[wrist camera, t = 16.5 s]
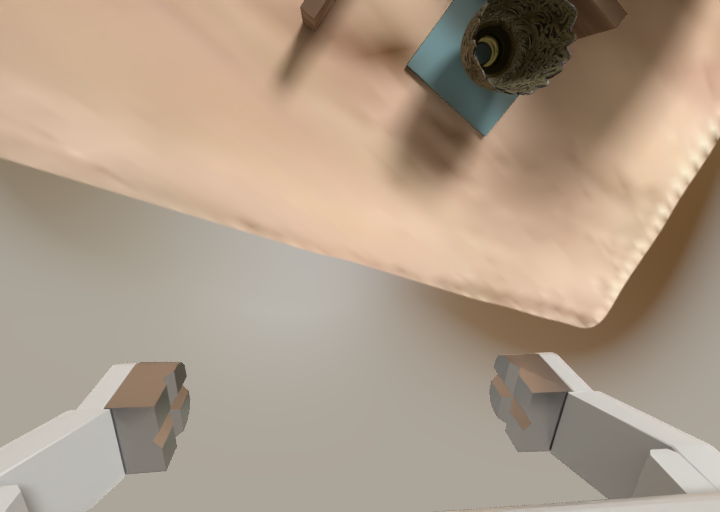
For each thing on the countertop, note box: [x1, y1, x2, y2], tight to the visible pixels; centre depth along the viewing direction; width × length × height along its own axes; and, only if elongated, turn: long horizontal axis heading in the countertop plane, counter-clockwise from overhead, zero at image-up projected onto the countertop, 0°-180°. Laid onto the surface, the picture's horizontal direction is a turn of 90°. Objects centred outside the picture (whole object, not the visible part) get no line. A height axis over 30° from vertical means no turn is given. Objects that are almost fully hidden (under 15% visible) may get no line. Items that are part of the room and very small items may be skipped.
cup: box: [461, 0, 578, 95], centre depth 30 cm, size 8×7×8 cm
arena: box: [300, 0, 627, 136], centre depth 31 cm, size 16×20×5 cm
